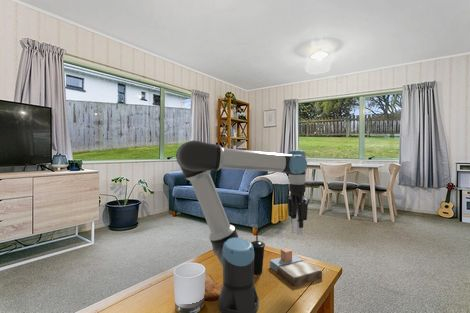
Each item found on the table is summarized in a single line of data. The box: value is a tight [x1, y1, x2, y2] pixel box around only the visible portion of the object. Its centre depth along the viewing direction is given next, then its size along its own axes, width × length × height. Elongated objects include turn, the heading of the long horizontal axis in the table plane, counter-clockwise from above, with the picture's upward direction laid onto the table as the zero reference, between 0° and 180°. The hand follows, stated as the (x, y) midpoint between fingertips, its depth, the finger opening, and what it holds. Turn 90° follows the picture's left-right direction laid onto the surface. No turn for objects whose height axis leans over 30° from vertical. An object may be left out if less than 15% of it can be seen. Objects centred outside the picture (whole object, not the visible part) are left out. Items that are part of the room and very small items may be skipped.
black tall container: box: [250, 230, 266, 276], centre depth 116 cm, size 8×8×20 cm
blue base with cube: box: [269, 247, 304, 274], centre depth 122 cm, size 15×7×8 cm, turn 115°
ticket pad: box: [277, 259, 323, 287], centre depth 113 cm, size 16×12×4 cm
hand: (297, 233), depth 114 cm, fingers open, 3 cm apart
